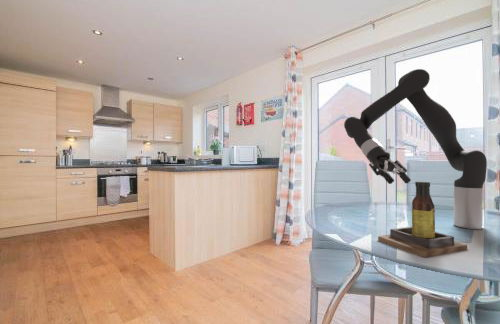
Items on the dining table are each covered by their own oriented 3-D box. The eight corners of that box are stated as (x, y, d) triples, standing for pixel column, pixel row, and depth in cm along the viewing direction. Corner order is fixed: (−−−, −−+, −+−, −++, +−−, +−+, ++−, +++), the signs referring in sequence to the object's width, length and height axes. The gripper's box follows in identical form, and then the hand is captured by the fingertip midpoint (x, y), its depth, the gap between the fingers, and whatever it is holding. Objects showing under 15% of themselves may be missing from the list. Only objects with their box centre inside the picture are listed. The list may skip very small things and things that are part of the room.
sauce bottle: (439, 245, 76) (439, 183, 75) (417, 243, 77) (418, 182, 77) (428, 238, 82) (428, 181, 82) (408, 237, 83) (408, 180, 83)
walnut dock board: (417, 234, 91) (417, 224, 91) (467, 249, 76) (467, 237, 76) (378, 240, 84) (378, 229, 84) (424, 257, 69) (424, 244, 69)
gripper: (366, 144, 93) (393, 175, 82) (393, 145, 98) (421, 175, 87) (356, 158, 98) (379, 189, 87) (381, 158, 103) (407, 188, 92)
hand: (400, 182), depth 87 cm, fingers open, 8 cm apart
